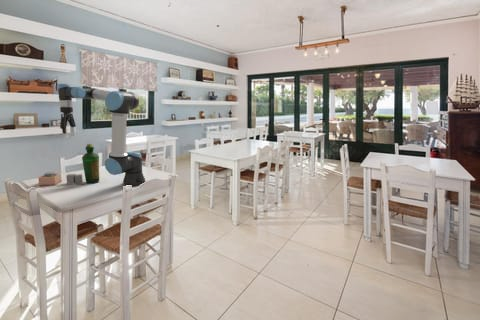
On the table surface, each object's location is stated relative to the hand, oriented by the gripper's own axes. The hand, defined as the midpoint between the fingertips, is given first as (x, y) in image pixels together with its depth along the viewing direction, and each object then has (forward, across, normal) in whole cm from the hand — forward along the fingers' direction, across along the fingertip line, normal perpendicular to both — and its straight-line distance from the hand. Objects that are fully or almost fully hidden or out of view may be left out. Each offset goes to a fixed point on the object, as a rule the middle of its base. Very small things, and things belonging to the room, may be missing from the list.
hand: (69, 137), depth 194 cm
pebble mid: (+33, +6, +1) cm, 33 cm away
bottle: (+33, +5, +14) cm, 36 cm away
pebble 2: (+33, +6, +6) cm, 34 cm away
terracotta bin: (+33, +5, -13) cm, 36 cm away
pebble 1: (+32, +5, -13) cm, 35 cm away
